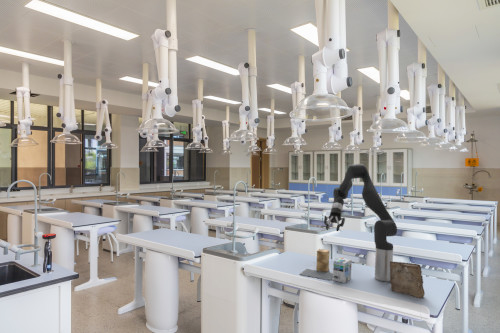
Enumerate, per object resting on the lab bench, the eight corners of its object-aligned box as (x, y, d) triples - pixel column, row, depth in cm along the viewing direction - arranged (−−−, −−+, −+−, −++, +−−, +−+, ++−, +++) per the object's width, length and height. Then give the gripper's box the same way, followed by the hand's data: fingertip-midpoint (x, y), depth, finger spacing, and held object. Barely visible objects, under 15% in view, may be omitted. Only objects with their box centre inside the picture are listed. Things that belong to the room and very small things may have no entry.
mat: (336, 274, 191) (336, 273, 191) (330, 280, 179) (330, 280, 179) (306, 269, 199) (306, 268, 199) (299, 274, 187) (299, 274, 187)
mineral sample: (425, 297, 159) (425, 265, 159) (422, 299, 156) (423, 267, 156) (389, 288, 170) (390, 258, 171) (386, 290, 167) (387, 260, 168)
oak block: (328, 270, 199) (329, 250, 199) (326, 272, 194) (326, 252, 194) (319, 268, 202) (319, 248, 202) (316, 270, 197) (316, 250, 197)
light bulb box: (344, 283, 175) (345, 263, 176) (332, 280, 179) (333, 260, 180) (351, 278, 184) (352, 259, 184) (340, 276, 188) (340, 257, 188)
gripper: (325, 206, 229) (320, 225, 218) (346, 207, 222) (342, 227, 211) (327, 213, 233) (322, 232, 223) (347, 214, 227) (343, 234, 216)
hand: (332, 230), depth 217 cm, fingers open, 6 cm apart
